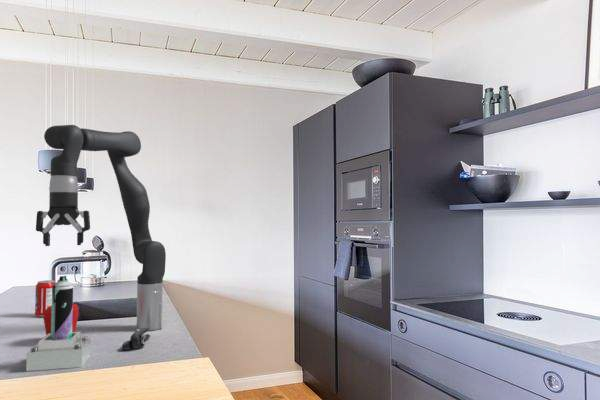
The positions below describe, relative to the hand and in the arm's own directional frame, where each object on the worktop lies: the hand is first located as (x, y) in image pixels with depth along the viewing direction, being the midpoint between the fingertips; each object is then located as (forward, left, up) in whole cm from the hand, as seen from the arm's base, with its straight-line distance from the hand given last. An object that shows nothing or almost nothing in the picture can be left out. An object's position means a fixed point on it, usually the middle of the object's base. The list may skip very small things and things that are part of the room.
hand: (63, 245), depth 133 cm
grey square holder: (0, +2, -34) cm, 34 cm away
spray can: (0, +2, -29) cm, 29 cm away
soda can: (+23, -68, -34) cm, 80 cm away
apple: (+6, -23, -34) cm, 41 cm away
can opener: (-21, -13, -34) cm, 42 cm away
